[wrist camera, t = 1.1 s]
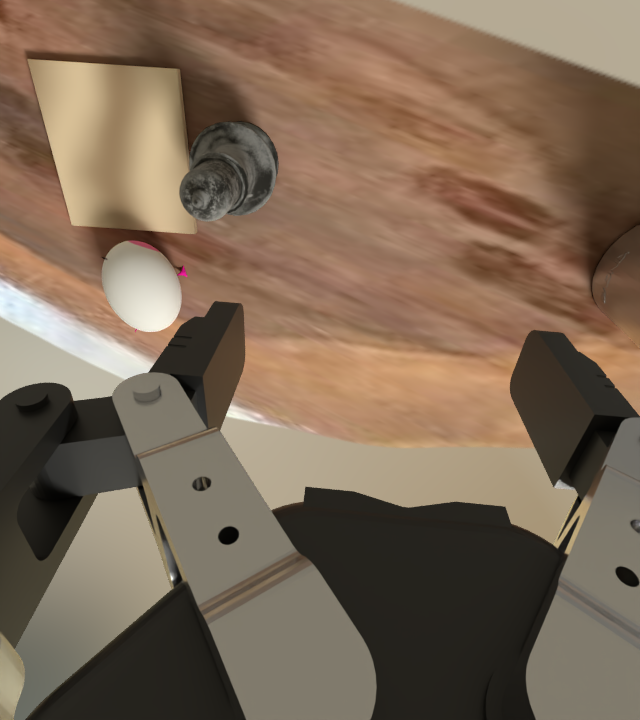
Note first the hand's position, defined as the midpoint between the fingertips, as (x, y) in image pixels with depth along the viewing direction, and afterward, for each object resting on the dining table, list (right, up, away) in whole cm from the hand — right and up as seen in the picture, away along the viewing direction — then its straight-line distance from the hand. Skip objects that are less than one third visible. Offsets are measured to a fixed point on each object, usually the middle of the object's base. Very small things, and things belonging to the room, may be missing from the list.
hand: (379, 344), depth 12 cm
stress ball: (-17, +7, +25) cm, 31 cm away
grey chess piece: (-7, +14, +20) cm, 26 cm away
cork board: (-16, +15, +20) cm, 30 cm away
